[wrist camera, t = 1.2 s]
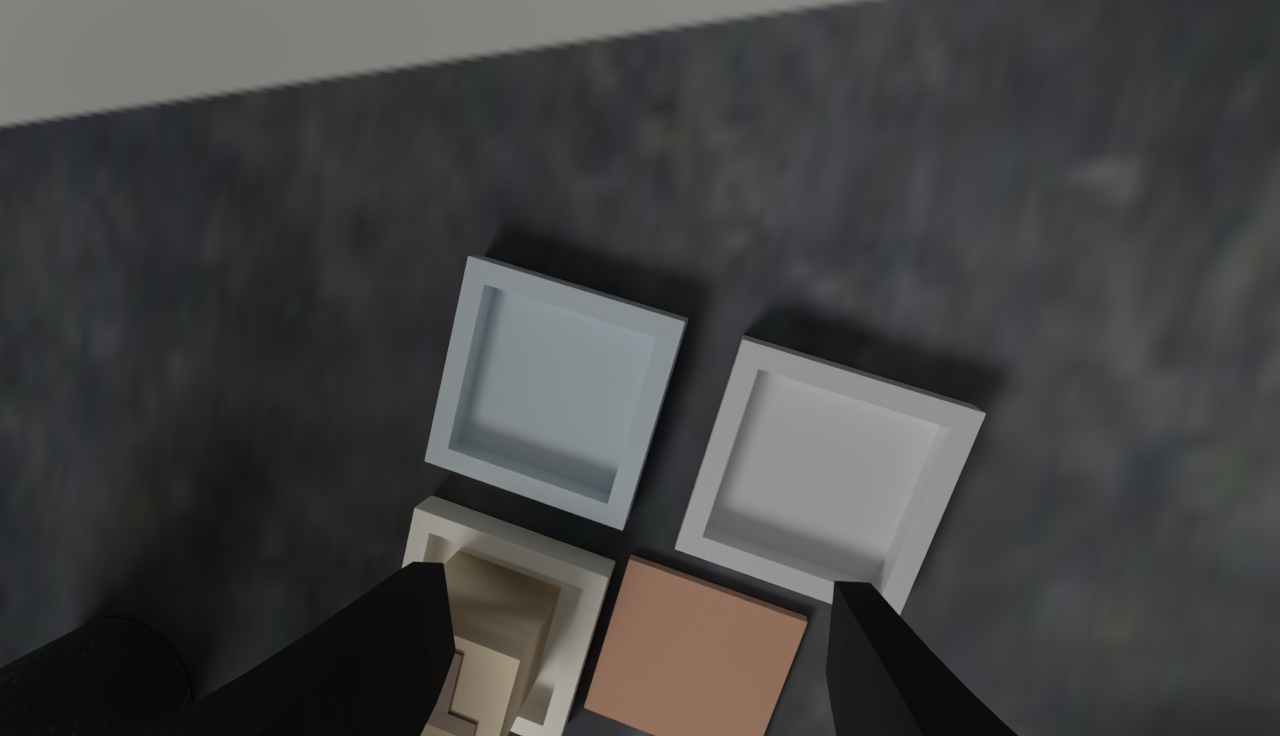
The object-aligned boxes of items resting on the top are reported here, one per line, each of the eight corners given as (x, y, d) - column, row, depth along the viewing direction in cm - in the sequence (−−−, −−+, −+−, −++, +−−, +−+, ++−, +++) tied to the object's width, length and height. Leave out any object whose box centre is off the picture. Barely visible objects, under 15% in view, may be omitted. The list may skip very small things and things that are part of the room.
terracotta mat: (806, 616, 23) (807, 622, 22) (749, 764, 24) (749, 772, 24) (631, 554, 24) (629, 559, 23) (586, 700, 25) (583, 707, 25)
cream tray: (615, 561, 24) (608, 577, 23) (566, 725, 26) (556, 749, 24) (431, 495, 25) (414, 507, 23) (395, 658, 26) (378, 678, 25)
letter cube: (561, 588, 24) (518, 662, 20) (535, 680, 25) (488, 772, 21) (458, 550, 25) (394, 614, 20) (436, 642, 26) (370, 723, 21)
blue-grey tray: (688, 318, 22) (685, 321, 20) (629, 516, 23) (622, 530, 22) (483, 255, 23) (467, 255, 21) (441, 450, 24) (424, 461, 23)
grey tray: (971, 403, 20) (986, 413, 19) (886, 605, 22) (894, 626, 21) (743, 334, 21) (742, 339, 20) (678, 533, 23) (674, 549, 22)
